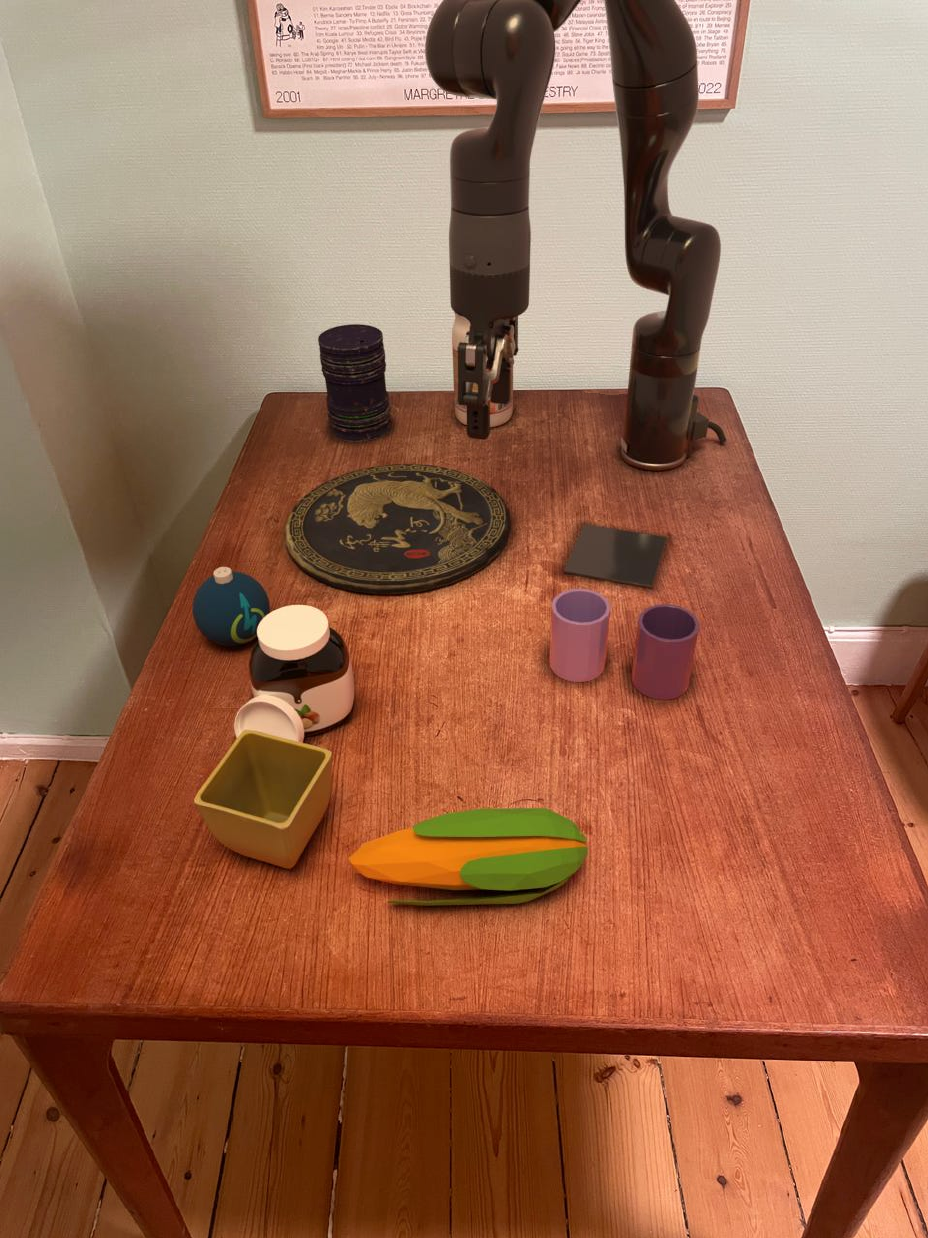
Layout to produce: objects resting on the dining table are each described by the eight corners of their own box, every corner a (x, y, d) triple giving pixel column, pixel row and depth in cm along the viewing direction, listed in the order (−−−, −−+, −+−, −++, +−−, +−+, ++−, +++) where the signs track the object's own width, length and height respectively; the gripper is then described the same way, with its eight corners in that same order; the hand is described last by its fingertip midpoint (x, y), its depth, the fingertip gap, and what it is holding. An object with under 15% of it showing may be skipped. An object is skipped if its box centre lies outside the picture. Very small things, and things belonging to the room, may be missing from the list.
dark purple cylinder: (317, 427, 143) (304, 336, 133) (365, 407, 148) (356, 318, 138) (355, 448, 137) (343, 355, 128) (404, 427, 142) (397, 335, 133)
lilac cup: (585, 639, 101) (590, 582, 96) (615, 671, 97) (621, 613, 91) (539, 655, 99) (541, 598, 94) (567, 689, 95) (571, 631, 90)
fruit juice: (455, 430, 141) (448, 246, 123) (454, 403, 148) (447, 226, 130) (514, 428, 141) (516, 243, 123) (511, 401, 148) (512, 223, 130)
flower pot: (346, 815, 82) (334, 749, 77) (302, 894, 76) (286, 828, 70) (261, 793, 85) (244, 727, 79) (213, 867, 78) (190, 801, 73)
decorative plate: (503, 589, 105) (256, 579, 108) (503, 602, 106) (258, 592, 109) (516, 464, 129) (312, 459, 131) (516, 476, 130) (313, 471, 132)
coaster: (583, 526, 119) (583, 523, 118) (667, 539, 116) (667, 537, 115) (563, 573, 111) (563, 570, 110) (652, 589, 108) (652, 586, 107)
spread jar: (354, 680, 97) (342, 595, 89) (363, 758, 88) (350, 670, 81) (242, 696, 95) (220, 611, 88) (240, 776, 87) (215, 689, 79)
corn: (598, 851, 69) (340, 869, 69) (593, 913, 74) (350, 930, 73) (582, 782, 75) (344, 798, 75) (578, 843, 80) (354, 859, 79)
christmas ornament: (205, 668, 99) (185, 597, 93) (197, 623, 105) (178, 554, 99) (281, 651, 101) (265, 579, 94) (269, 607, 107) (254, 538, 101)
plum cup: (666, 655, 98) (675, 597, 93) (700, 688, 94) (711, 630, 89) (620, 672, 96) (627, 614, 91) (653, 707, 92) (661, 648, 87)
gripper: (510, 285, 77) (507, 455, 87) (545, 238, 87) (539, 394, 97) (427, 279, 78) (434, 446, 88) (471, 234, 89) (473, 387, 99)
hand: (489, 419), depth 93 cm, fingers open, 8 cm apart
